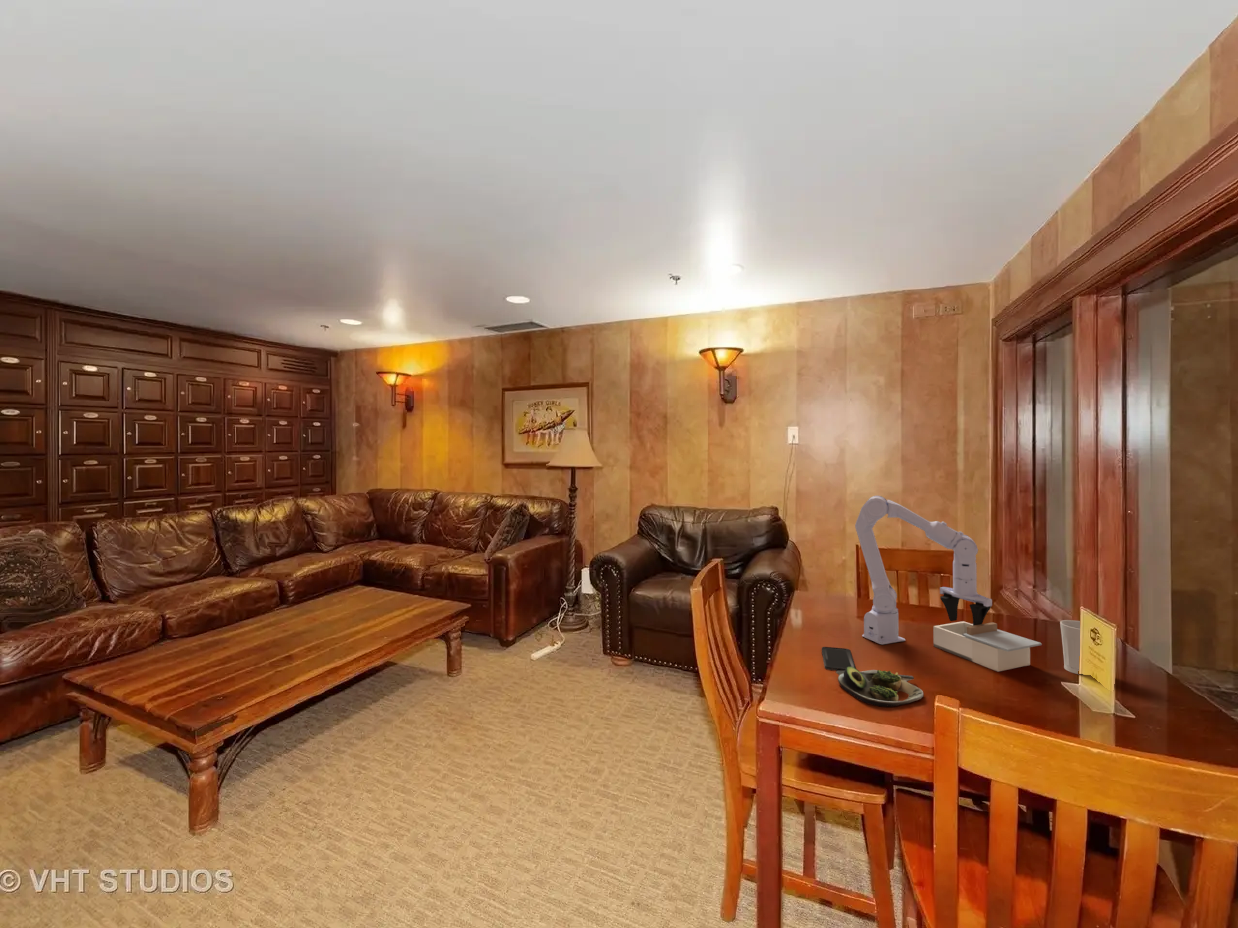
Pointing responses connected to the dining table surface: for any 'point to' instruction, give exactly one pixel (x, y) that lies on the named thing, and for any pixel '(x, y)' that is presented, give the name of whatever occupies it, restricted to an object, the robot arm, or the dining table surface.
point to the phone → (837, 658)
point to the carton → (977, 648)
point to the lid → (998, 637)
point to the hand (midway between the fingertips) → (964, 624)
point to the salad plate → (878, 686)
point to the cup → (1071, 644)
